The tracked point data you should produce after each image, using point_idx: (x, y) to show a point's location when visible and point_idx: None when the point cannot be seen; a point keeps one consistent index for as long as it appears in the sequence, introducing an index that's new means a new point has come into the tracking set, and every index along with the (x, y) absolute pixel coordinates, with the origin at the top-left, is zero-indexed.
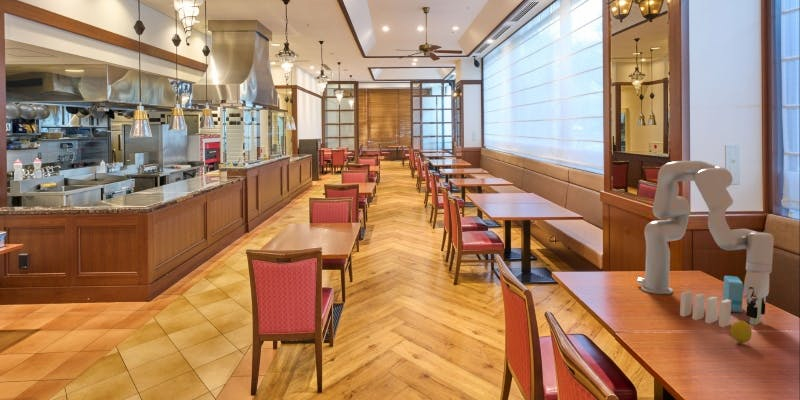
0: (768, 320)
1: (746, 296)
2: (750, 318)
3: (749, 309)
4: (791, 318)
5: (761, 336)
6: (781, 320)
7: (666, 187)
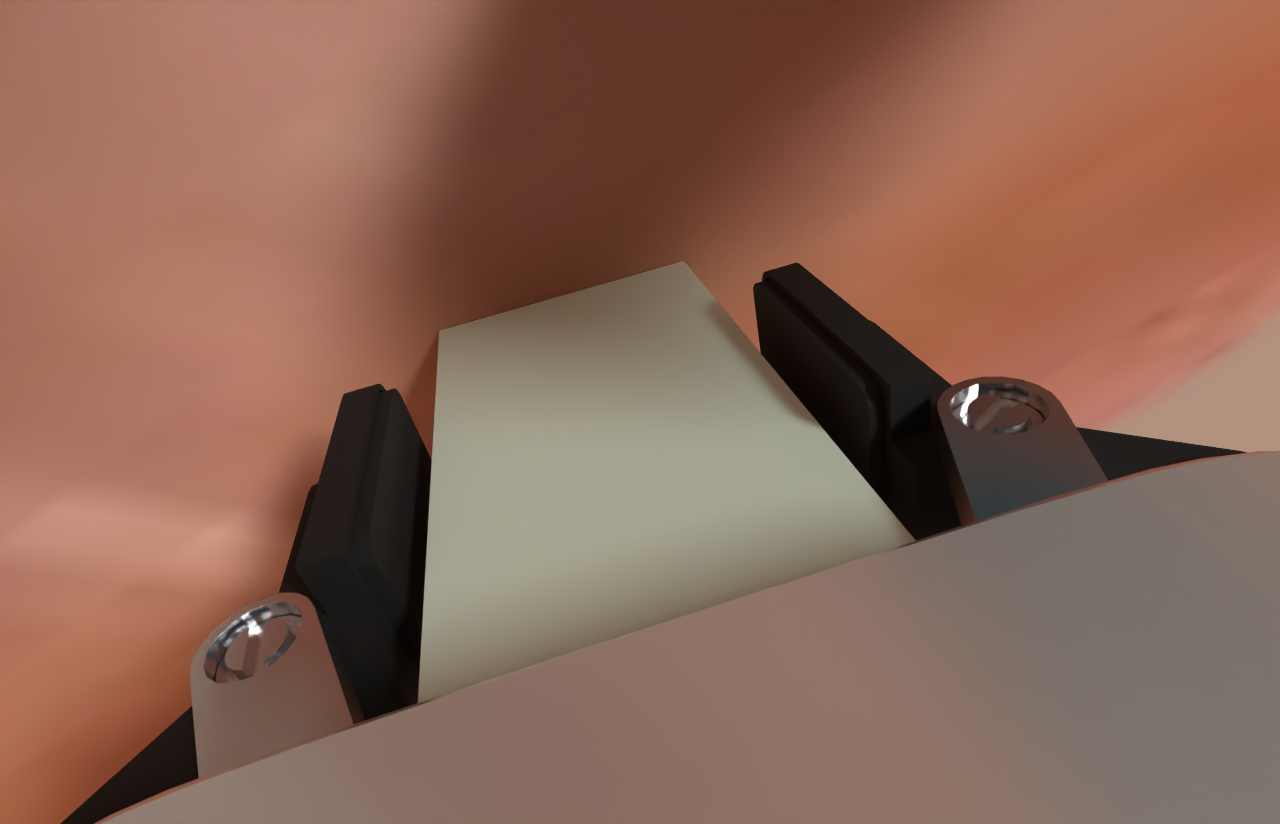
0: (889, 313)
1: (367, 723)
2: (438, 393)
3: (296, 590)
4: (1205, 355)
5: (145, 706)
6: (1028, 369)
7: None
